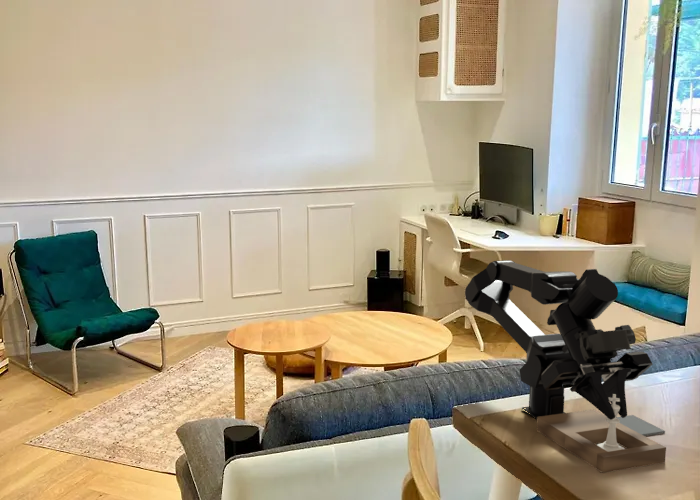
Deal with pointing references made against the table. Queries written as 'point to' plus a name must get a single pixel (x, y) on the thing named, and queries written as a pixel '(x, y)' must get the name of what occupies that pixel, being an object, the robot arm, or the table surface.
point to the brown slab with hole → (600, 440)
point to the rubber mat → (640, 425)
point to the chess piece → (612, 429)
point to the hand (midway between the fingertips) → (618, 417)
